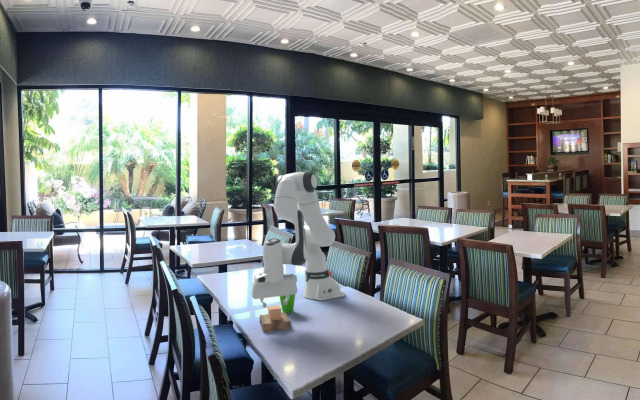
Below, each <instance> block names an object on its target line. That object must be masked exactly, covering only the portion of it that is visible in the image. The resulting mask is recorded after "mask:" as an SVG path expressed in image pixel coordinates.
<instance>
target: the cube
mask: <svg viewBox="0 0 640 400" xmlns="http://www.w3.org/2000/svg"><path fill="white" fill-rule="evenodd" d="M267 311H268V312H267V314H268V317H269V319H270V321H273V320H281V313H282V306H280V305H279V304H277V305H276V304H275V305H268V307H267Z"/></svg>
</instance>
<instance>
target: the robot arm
mask: <svg viewBox="0 0 640 400" xmlns="http://www.w3.org/2000/svg"><path fill="white" fill-rule="evenodd" d="M318 183H319V182H318V177H317V175H316V173H314V172H313V171H308V170H307V171H296V172H295V171H294V172H291V173H287V174H286V173H285V174H281V175H279V176H278V177H277V179H276V181H275V189H276V191H275V194H274V202H273V210H274V212H275V214H276V215H277V216H278V217H280V218H281V219H282V220H285V221H287V222H290V223H292V224H293V225H294V233H295V242H293V243H286V242H285V243H283V242H282V240H281V239H279V238H277V237H275V238H270V239H267V240H265V241H264V243H263V247H262V248H263V250H262V260H263V264H264V266H263V271H261V272H259V273H257V274H254V276H253V282H252V285H251V297H252V299H253V300H259V301H260V302H261V304H262V308H264V309H265V308H268V307H267V302H264V300H265V299H267V298H276V297H280V296H286V299H285V300H283V301H284V305H287V301H288V300H289V298H290V295H295V296H296V295H297V293H298V286H297V281H298V276H297V275H296V274H294V273H289V274H288V273H285V271H284V265H291V266H298V267H299V266H300V267H301V266H302V265H304V264H305V270H304V272H305V273H304V281H305V286H304V293H303V295H302V296H303V297H304V298H305V299H309V300H316V301H325V300H332V299H338V298H342V297H345V292H344V290H342V289H341V286H340V284H339V282H338V281H336V280H335V279H334V278H333V277H331V276H332V275H333V272H332V271H331V270H330V271H329V270H328V269H327V263H326V261H327V258H326V254H325V253H324V252H323V251H322V249H321V248H322V247H323V248H324V247H329V246H332V245H333V244H334V242H335V239H336V234H335V231H334V230H333V229H332V228H331V227H330V226H329V225H328V223H327V222H326V221H327V220H325V218H324V216H323V214H322V211H321V207H320V201H319V197H318V193H317V191H316V189H317V187H318V185H319V184H318Z"/></svg>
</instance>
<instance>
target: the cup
mask: <svg viewBox="0 0 640 400" xmlns="http://www.w3.org/2000/svg"><path fill="white" fill-rule="evenodd" d="M279 299H280V305H281V306H280V307H281V312H282V313H284V312H286V314H287V315H289V314H292V313H294V307H295V300H296V294H295V295H290V298H289V300H288V301H287V305H284V301H283V300H285V299H286V296H279Z"/></svg>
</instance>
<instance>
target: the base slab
mask: <svg viewBox="0 0 640 400" xmlns="http://www.w3.org/2000/svg"><path fill="white" fill-rule="evenodd" d="M259 324H260V326H261V330H262V332H263V333H269V332H270V333H271V332H277V331H278V332H279V331H284V330H291V326H292V325H291V319H290V318H289V316H288V314H286V312H284V313H283V312H281V320H273V321H270V319H269V317H268V313H267V314H259Z"/></svg>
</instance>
